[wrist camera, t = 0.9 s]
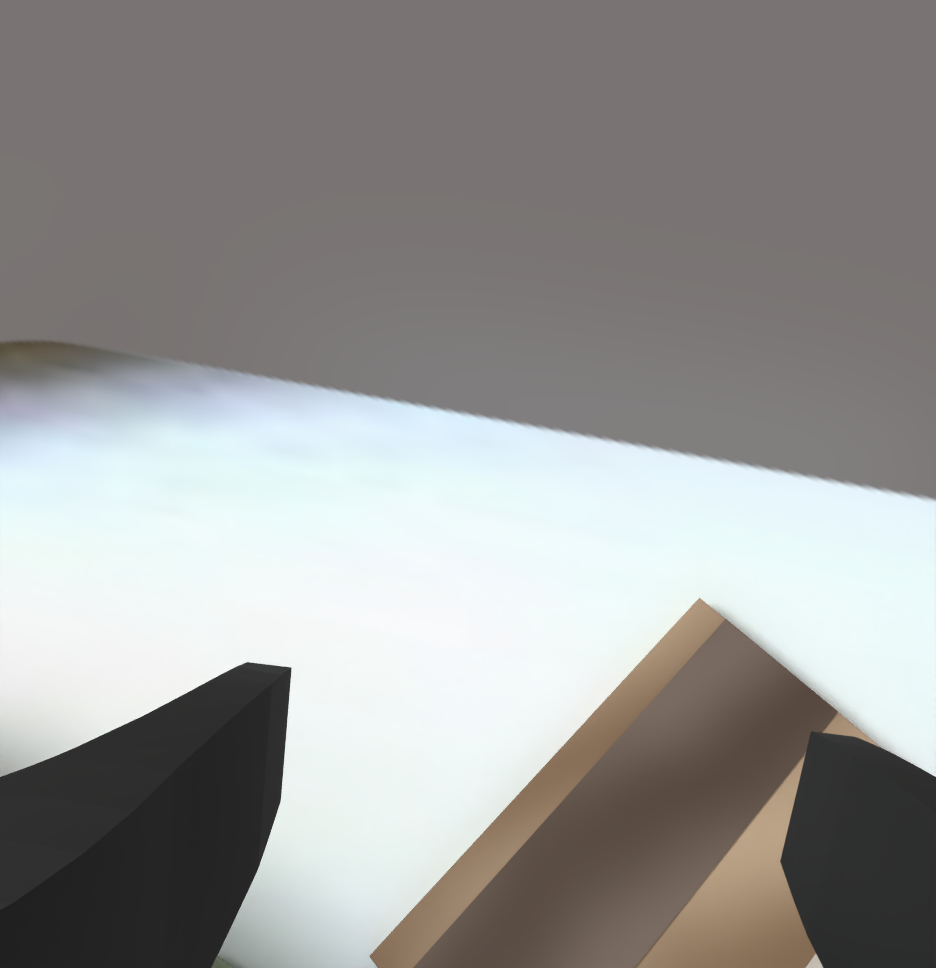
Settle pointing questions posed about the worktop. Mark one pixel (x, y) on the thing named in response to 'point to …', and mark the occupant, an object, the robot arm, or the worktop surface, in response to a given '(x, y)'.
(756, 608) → the worktop surface
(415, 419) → the worktop surface
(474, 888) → the board
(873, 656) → the worktop surface
